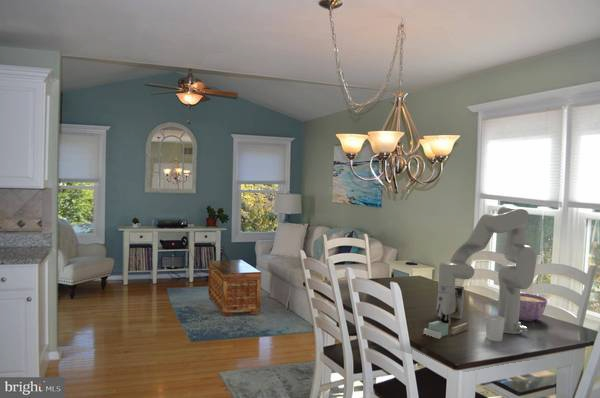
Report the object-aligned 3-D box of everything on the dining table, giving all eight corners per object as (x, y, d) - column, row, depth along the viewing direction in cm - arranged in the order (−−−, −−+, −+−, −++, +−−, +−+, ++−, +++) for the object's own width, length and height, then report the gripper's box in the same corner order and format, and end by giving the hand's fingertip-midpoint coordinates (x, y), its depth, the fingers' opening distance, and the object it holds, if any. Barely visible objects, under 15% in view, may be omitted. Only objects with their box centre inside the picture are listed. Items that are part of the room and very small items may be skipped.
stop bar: (440, 338, 226) (441, 332, 225) (439, 338, 225) (439, 333, 224) (425, 333, 231) (425, 328, 231) (423, 334, 230) (423, 328, 230)
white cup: (488, 335, 233) (489, 314, 233) (505, 339, 228) (507, 317, 228) (482, 339, 227) (483, 317, 226) (500, 343, 222) (501, 321, 221)
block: (447, 334, 231) (448, 323, 231) (439, 337, 227) (439, 326, 226) (436, 331, 236) (437, 320, 236) (428, 333, 231) (428, 323, 231)
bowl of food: (551, 326, 253) (552, 303, 252) (508, 322, 257) (510, 299, 256) (540, 315, 272) (541, 294, 272) (501, 312, 276) (502, 291, 276)
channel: (467, 329, 241) (468, 323, 241) (453, 335, 231) (453, 328, 231) (448, 324, 248) (448, 318, 248) (433, 329, 238) (433, 323, 238)
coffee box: (442, 316, 262) (444, 286, 261) (445, 313, 268) (446, 283, 267) (460, 319, 258) (462, 288, 257) (462, 316, 264) (464, 286, 263)
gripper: (445, 292, 226) (443, 332, 227) (461, 288, 237) (459, 326, 238) (430, 289, 232) (428, 328, 233) (447, 285, 242) (445, 322, 243)
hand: (444, 327), depth 235 cm, fingers closed
